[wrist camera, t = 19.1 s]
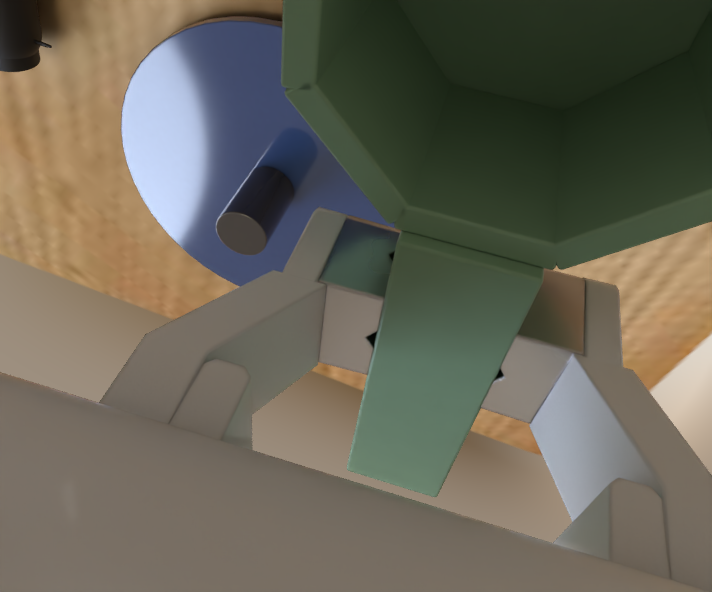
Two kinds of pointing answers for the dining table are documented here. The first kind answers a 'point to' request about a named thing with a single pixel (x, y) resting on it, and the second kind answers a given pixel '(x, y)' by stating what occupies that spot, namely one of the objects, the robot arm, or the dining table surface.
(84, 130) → the dining table surface
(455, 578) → the robot arm
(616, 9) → the scoop
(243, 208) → the lid
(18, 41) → the door handle
